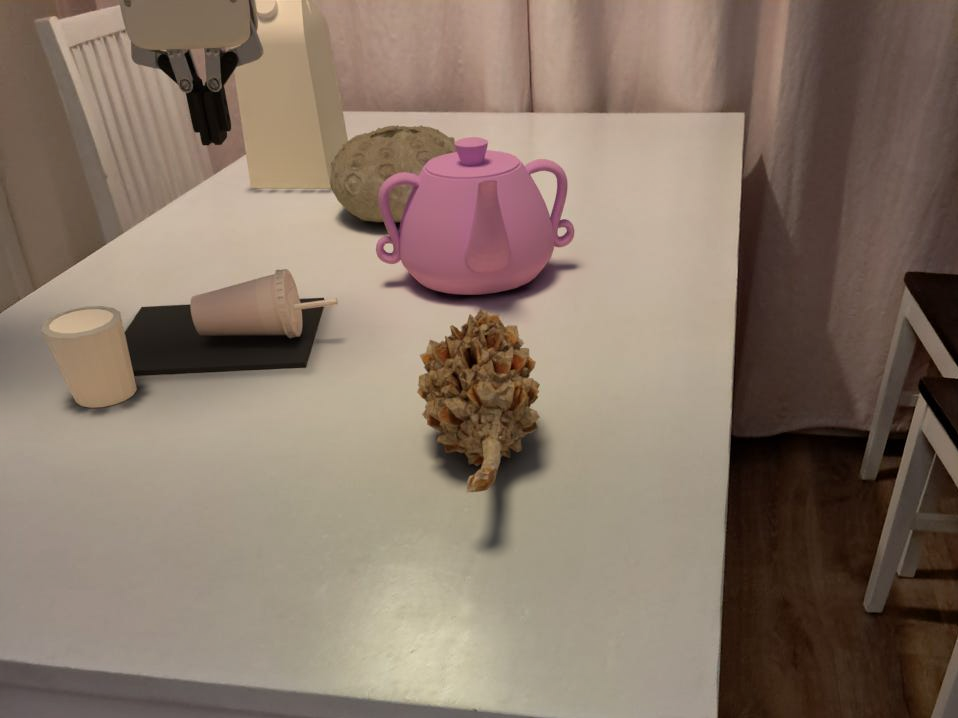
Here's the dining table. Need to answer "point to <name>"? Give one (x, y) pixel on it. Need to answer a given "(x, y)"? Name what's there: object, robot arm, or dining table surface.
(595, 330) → the dining table surface
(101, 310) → the cream candle
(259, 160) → the milk
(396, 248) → the teapot
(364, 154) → the decorative shell
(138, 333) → the mat
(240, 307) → the smoothie
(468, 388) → the pine cone
